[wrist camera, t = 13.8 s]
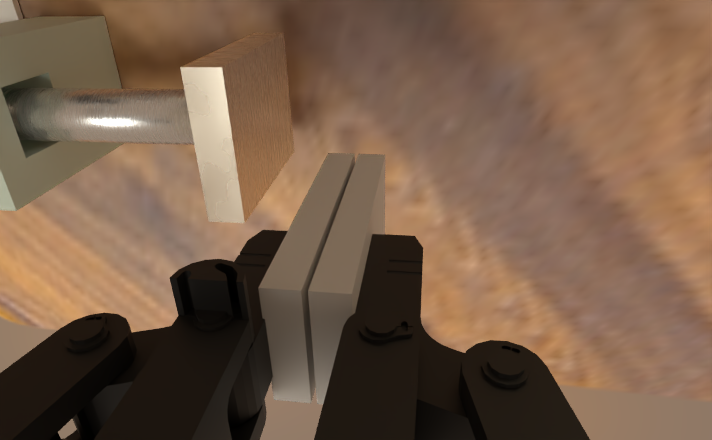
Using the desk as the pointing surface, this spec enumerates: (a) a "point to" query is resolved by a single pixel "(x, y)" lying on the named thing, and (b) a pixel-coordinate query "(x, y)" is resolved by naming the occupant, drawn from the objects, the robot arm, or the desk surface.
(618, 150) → the desk surface
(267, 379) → the robot arm
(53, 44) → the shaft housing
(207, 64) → the shaft
